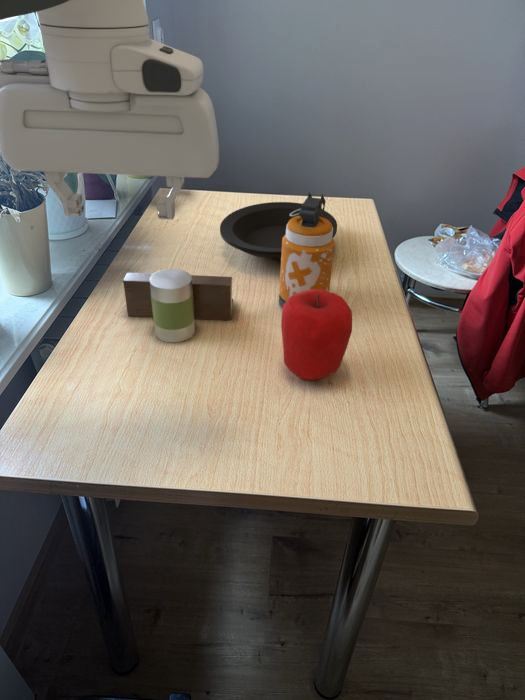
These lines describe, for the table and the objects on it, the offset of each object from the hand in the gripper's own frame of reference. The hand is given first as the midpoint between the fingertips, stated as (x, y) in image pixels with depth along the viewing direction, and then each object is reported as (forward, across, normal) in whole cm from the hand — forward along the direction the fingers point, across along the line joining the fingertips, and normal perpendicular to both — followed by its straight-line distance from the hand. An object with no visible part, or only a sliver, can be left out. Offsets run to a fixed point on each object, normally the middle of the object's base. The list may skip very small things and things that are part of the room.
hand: (120, 215), depth 54 cm
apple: (+29, +22, +13) cm, 39 cm away
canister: (+29, +22, +34) cm, 50 cm away
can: (+29, 0, +22) cm, 37 cm away
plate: (+29, +17, +56) cm, 66 cm away
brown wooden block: (+29, 0, +29) cm, 41 cm away
